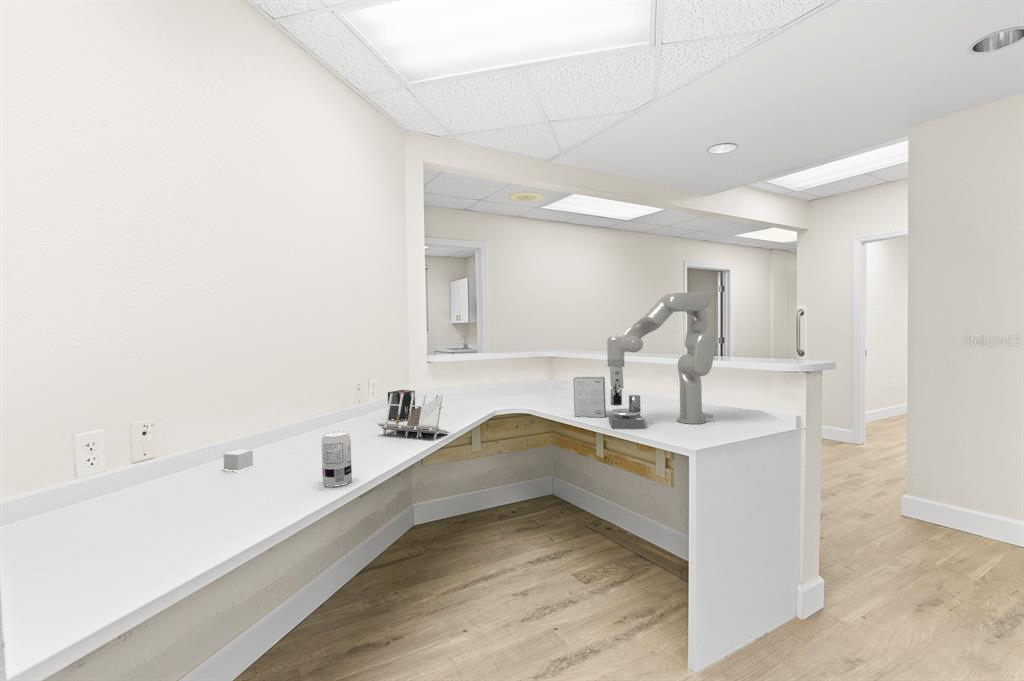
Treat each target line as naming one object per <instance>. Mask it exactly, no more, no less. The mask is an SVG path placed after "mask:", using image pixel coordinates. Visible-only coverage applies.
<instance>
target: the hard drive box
mask: <svg viewBox="0 0 1024 681" xmlns="http://www.w3.org/2000/svg"><path fill="white" fill-rule="evenodd" d="M605 382H606V378H605V376H574V377H573V402H574V403H573V404H574V407H573V408H574V409H573V410H574V417H575V416H577V418H605V417H606V416H607V409H606V385H605V384H606V383H605Z"/></svg>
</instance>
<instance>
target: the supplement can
mask: <svg viewBox="0 0 1024 681" xmlns="http://www.w3.org/2000/svg"><path fill="white" fill-rule="evenodd" d="M351 445H352V444H351V436H350V434H349V432H347V431H344V430H343V431H339V430H338V431H332V432H327V433H325V434H323V437H322V439H321V460H322V462H321V464H322V465H321V466H322V467H321V468H322V484H323V485H324V486H325V485H328V486H335V485H342V484H345V483H348V482H349V483H351V481H352V480H353V474H352V469H353V468H352V446H351ZM349 483H348V484H349Z"/></svg>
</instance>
